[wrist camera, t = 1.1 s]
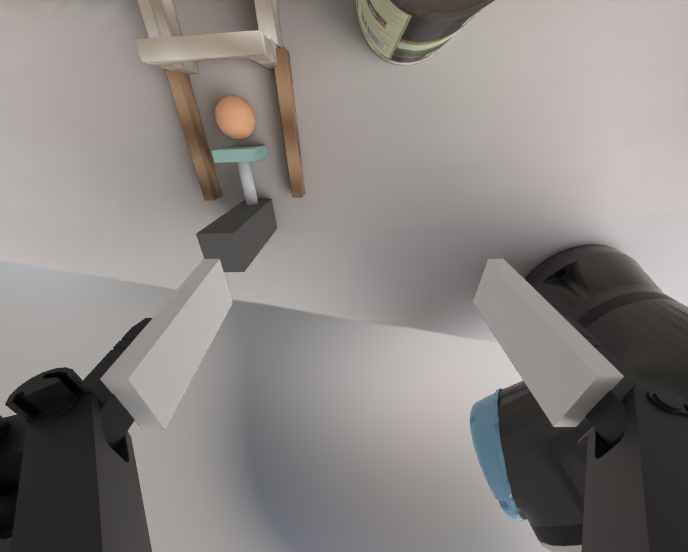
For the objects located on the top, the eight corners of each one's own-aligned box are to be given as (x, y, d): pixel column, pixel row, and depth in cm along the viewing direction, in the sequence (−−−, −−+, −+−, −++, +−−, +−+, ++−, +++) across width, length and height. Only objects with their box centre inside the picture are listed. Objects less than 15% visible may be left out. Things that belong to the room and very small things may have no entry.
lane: (304, 193, 34) (294, 207, 28) (212, 196, 34) (184, 211, 29) (278, -35, 24) (254, -83, 18) (149, -23, 24) (87, -66, 19)
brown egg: (263, 137, 31) (251, 139, 27) (230, 139, 31) (214, 141, 28) (256, 96, 29) (242, 92, 25) (220, 98, 29) (202, 94, 26)
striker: (280, 228, 36) (248, 271, 26) (248, 229, 36) (204, 272, 26) (265, 145, 31) (219, 157, 20) (229, 147, 31) (165, 159, 21)
